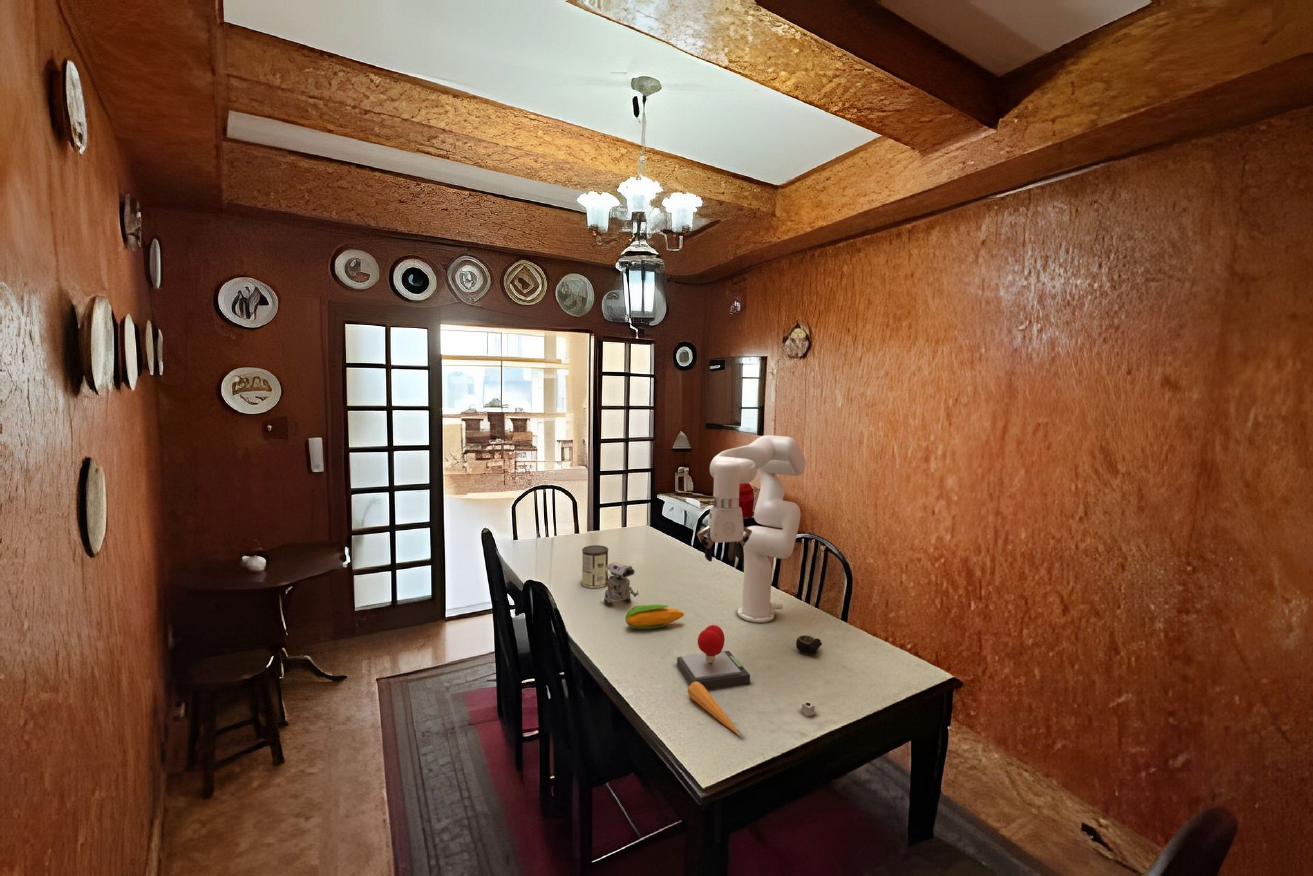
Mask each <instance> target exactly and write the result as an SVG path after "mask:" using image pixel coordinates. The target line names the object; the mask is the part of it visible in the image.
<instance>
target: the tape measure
mask: <svg viewBox="0 0 1313 876" xmlns="http://www.w3.org/2000/svg"><path fill="white" fill-rule="evenodd" d="M821 646H823V642H822V641H821V639H820V638H815V637H813V636H811V635H805V634H803V635H799V636H798V637H797V638H796V641H795V647H796V649H797V651H798V652H800V653H802V654H805V655H813V656H815V655H816V654H817V652H818V651H819V649H820V648H821Z"/></svg>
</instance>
